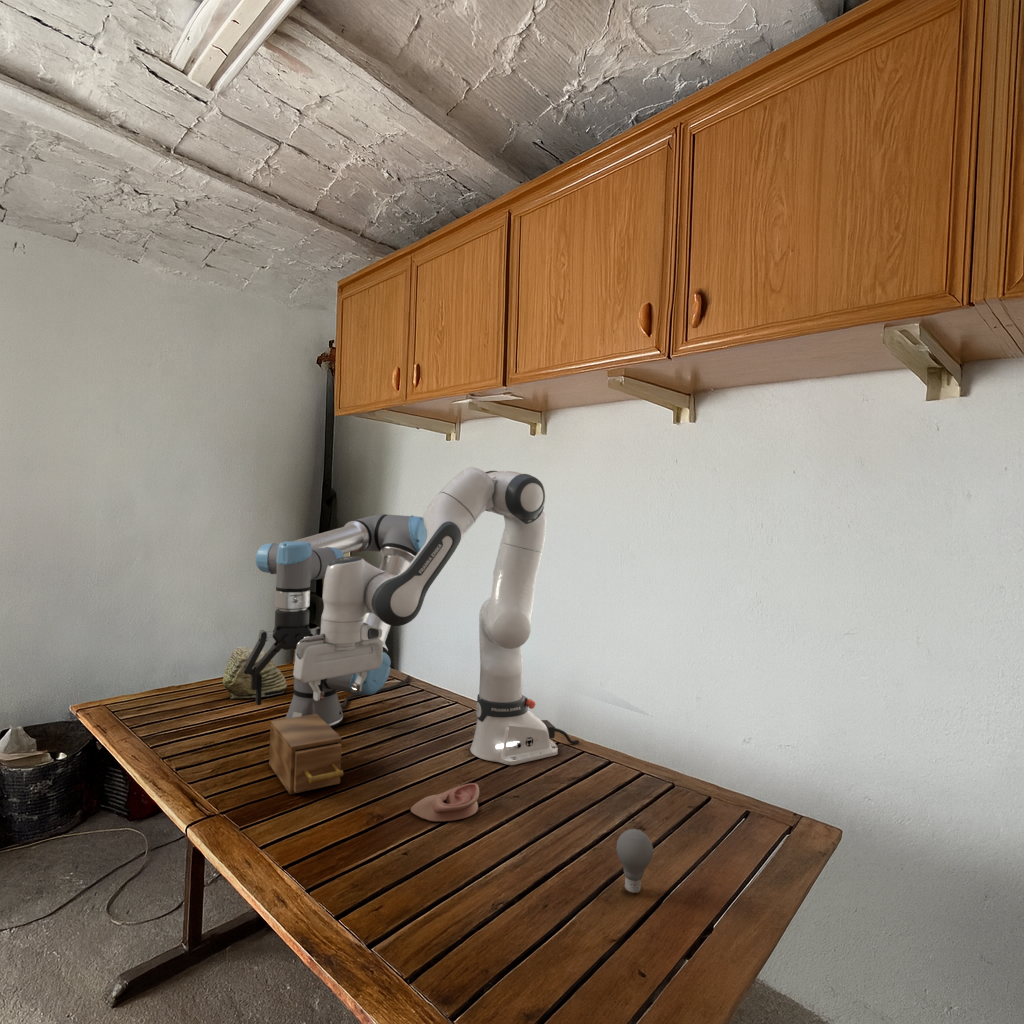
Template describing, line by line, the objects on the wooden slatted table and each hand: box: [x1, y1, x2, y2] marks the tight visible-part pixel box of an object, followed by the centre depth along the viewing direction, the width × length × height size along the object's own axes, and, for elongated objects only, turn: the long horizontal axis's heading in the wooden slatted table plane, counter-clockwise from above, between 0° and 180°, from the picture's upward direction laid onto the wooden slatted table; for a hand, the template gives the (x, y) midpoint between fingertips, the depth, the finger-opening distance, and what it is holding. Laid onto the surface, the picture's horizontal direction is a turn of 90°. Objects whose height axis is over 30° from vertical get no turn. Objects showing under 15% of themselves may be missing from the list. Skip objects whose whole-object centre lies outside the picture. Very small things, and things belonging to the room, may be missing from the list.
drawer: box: [294, 743, 344, 794], centre depth 140 cm, size 22×10×8 cm, turn 35°
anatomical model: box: [410, 782, 480, 822], centre depth 131 cm, size 13×4×12 cm
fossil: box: [222, 646, 288, 699], centre depth 198 cm, size 9×18×15 cm, turn 132°
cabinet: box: [268, 714, 343, 796], centre depth 144 cm, size 18×11×10 cm, turn 35°
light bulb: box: [615, 828, 654, 894], centre depth 106 cm, size 6×6×10 cm
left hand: (289, 699), depth 147 cm, fingers open, 13 cm apart
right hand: (337, 695), depth 137 cm, fingers open, 8 cm apart
